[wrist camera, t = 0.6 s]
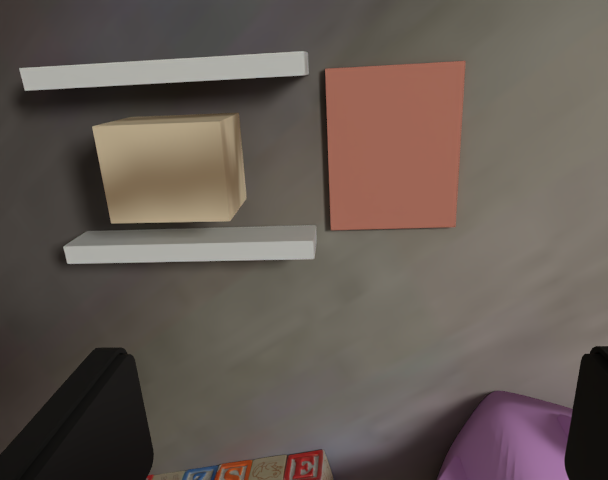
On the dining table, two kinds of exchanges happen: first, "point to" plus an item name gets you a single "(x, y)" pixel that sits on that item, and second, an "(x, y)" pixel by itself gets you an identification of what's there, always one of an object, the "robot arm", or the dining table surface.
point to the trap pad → (394, 145)
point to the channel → (189, 240)
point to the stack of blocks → (261, 469)
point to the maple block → (172, 168)
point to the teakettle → (510, 441)
